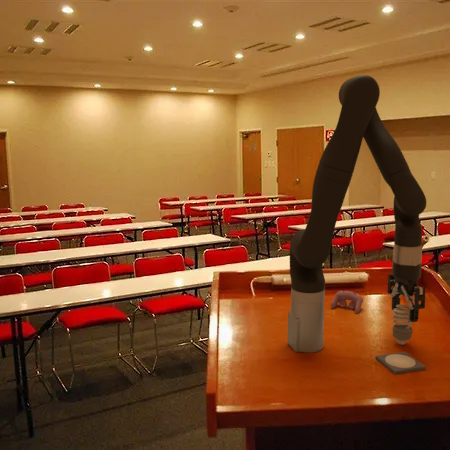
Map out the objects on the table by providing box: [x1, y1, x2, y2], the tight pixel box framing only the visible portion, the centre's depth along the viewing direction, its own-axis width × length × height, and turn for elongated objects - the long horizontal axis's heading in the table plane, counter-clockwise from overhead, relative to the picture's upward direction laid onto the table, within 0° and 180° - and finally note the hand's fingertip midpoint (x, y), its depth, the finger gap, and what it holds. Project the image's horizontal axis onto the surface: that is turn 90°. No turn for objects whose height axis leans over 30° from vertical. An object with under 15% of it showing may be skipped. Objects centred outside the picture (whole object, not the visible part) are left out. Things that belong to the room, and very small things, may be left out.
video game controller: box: [330, 290, 364, 314], centre depth 179 cm, size 10×5×7 cm, turn 58°
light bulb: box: [392, 303, 414, 346], centre depth 150 cm, size 6×6×12 cm
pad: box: [375, 351, 427, 375], centre depth 140 cm, size 9×9×1 cm
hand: (404, 315), depth 150 cm, fingers open, 8 cm apart
